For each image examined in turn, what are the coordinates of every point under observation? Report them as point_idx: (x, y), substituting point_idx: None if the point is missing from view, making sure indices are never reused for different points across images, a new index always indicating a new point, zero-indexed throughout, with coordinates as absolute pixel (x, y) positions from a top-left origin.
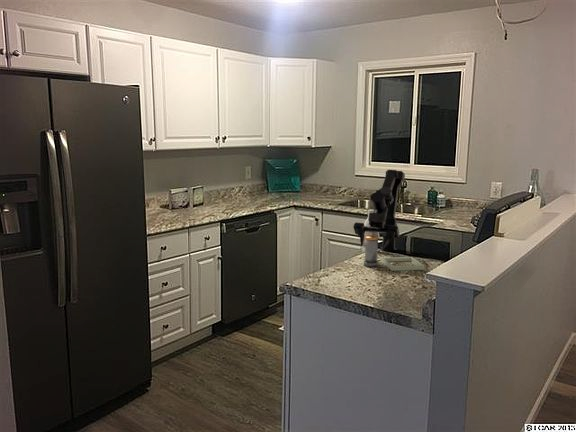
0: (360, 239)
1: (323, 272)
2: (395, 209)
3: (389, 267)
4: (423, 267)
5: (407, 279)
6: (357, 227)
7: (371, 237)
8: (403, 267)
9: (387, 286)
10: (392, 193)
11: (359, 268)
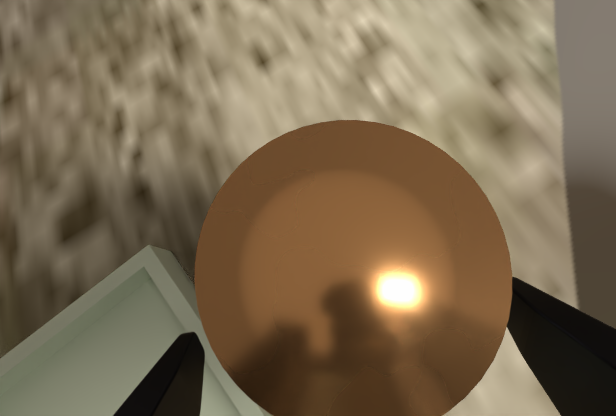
0: (608, 329)
1: (531, 33)
2: None
3: (182, 283)
4: None
5: (55, 182)
6: None
7: (321, 182)
8: (73, 306)
9: (131, 28)
10: None
11: None
